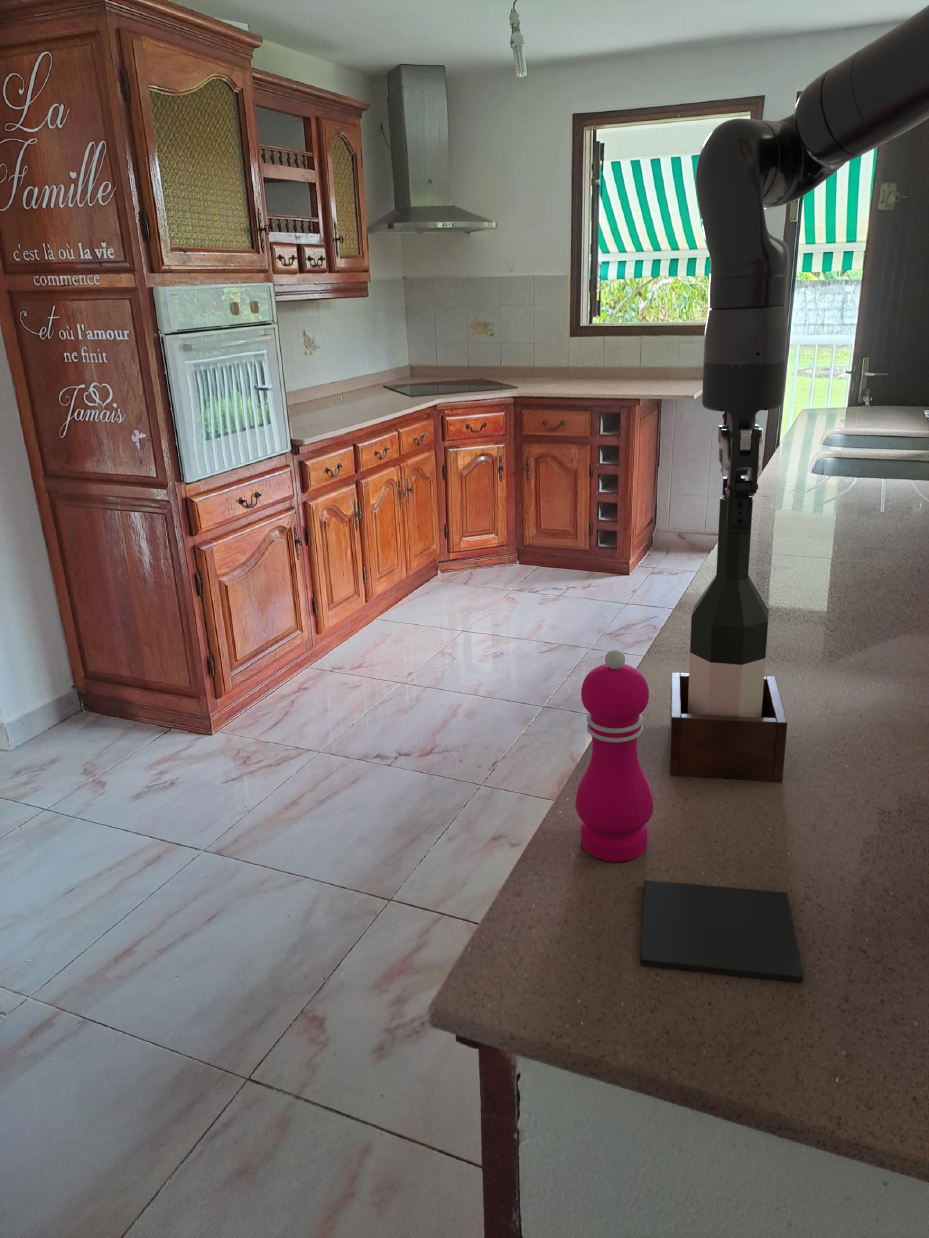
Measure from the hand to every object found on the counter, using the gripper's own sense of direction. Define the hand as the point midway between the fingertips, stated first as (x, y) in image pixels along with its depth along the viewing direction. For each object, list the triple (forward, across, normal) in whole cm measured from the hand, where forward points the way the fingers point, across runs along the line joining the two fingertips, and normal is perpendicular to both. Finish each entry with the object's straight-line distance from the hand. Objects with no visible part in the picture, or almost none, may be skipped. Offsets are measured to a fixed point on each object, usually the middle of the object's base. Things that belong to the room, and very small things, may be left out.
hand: (735, 522), depth 90 cm
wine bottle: (+27, 0, 0) cm, 27 cm away
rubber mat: (+27, -30, +2) cm, 40 cm away
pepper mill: (+27, -19, +11) cm, 35 cm away
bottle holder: (+27, 0, 0) cm, 27 cm away
